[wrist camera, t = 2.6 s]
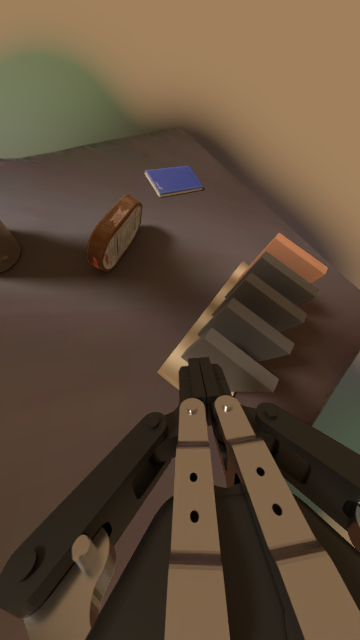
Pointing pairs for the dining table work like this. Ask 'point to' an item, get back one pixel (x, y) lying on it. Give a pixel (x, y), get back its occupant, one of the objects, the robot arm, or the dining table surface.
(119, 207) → the tin
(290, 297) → the domino
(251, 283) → the domino
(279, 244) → the domino
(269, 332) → the domino
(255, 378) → the domino
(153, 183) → the blue notebook
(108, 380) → the dining table surface
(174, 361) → the board
